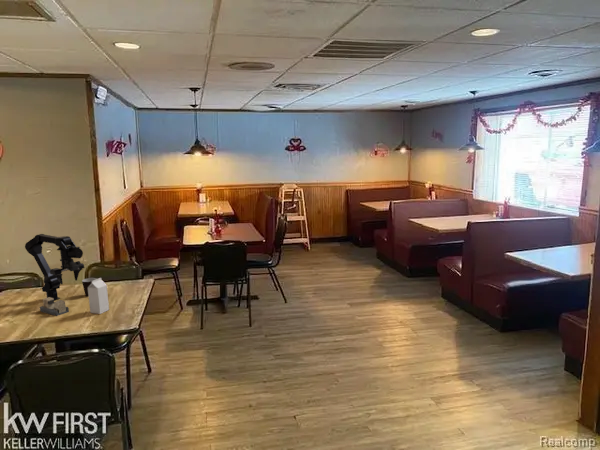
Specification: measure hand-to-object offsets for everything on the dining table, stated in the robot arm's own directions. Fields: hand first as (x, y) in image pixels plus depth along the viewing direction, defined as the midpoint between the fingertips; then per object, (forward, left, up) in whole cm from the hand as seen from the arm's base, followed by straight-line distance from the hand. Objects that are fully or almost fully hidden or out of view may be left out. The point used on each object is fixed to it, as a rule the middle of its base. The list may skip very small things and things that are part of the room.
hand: (69, 282), depth 280 cm
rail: (+9, -16, -12) cm, 22 cm away
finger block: (+4, -16, -11) cm, 20 cm away
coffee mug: (0, +15, -12) cm, 19 cm away
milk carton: (+33, -4, -12) cm, 35 cm away
